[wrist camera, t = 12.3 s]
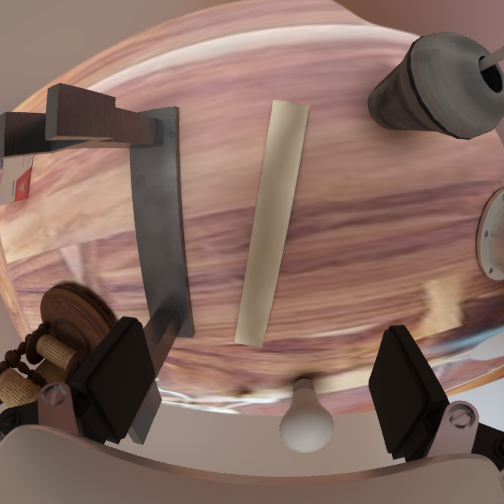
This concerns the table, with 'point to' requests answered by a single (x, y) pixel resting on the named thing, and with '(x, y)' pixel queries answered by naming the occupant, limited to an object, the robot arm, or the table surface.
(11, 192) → the ink cartridge box
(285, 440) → the lightbulb
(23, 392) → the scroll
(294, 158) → the maple bar
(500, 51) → the beverage cup
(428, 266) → the table surface
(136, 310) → the table surface
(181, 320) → the grey frame stand
